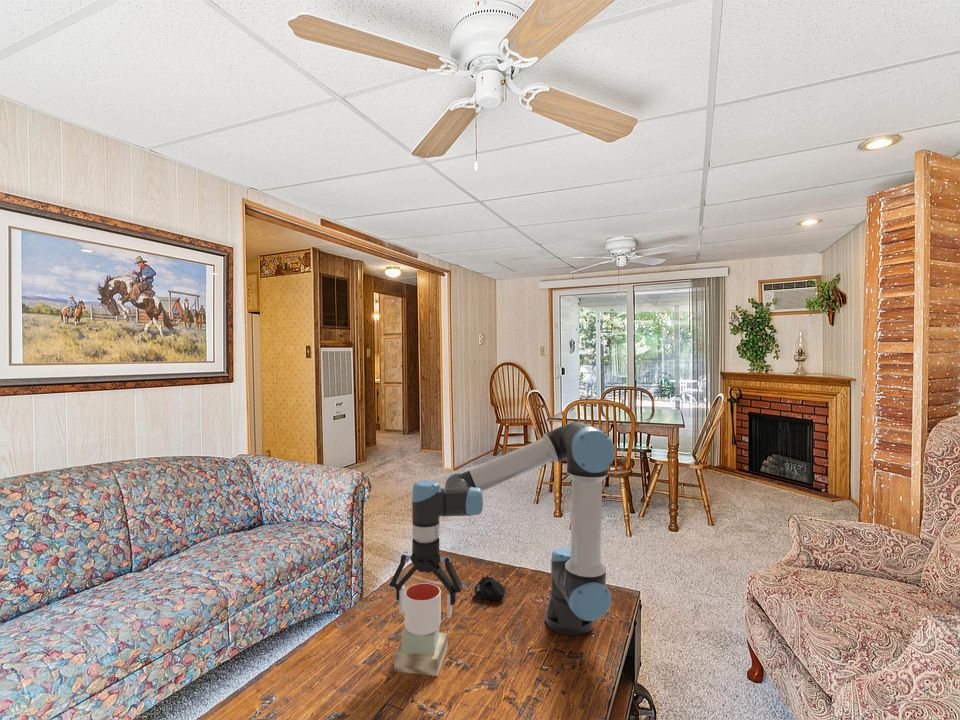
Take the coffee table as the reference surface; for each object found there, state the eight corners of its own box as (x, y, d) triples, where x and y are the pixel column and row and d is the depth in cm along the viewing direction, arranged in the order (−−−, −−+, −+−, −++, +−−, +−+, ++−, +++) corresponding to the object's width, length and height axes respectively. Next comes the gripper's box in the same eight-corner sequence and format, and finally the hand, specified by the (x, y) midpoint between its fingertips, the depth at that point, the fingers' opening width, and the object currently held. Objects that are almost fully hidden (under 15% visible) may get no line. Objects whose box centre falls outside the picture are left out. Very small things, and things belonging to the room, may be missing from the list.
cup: (433, 640, 129) (434, 603, 128) (398, 634, 131) (398, 598, 131) (445, 619, 138) (445, 585, 138) (412, 615, 141) (412, 581, 140)
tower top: (439, 635, 139) (439, 617, 139) (434, 654, 130) (434, 636, 130) (408, 633, 140) (408, 616, 140) (401, 653, 131) (401, 635, 131)
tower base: (447, 650, 140) (447, 633, 140) (437, 677, 129) (437, 659, 128) (407, 646, 142) (407, 629, 142) (394, 673, 130) (393, 654, 130)
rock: (487, 609, 173) (511, 601, 170) (473, 604, 166) (499, 596, 163) (483, 581, 179) (507, 574, 176) (470, 576, 172) (494, 568, 169)
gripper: (472, 535, 136) (472, 610, 136) (387, 529, 140) (387, 602, 140) (467, 546, 128) (467, 625, 129) (378, 540, 132) (378, 616, 133)
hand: (425, 613), depth 135 cm, fingers open, 13 cm apart
